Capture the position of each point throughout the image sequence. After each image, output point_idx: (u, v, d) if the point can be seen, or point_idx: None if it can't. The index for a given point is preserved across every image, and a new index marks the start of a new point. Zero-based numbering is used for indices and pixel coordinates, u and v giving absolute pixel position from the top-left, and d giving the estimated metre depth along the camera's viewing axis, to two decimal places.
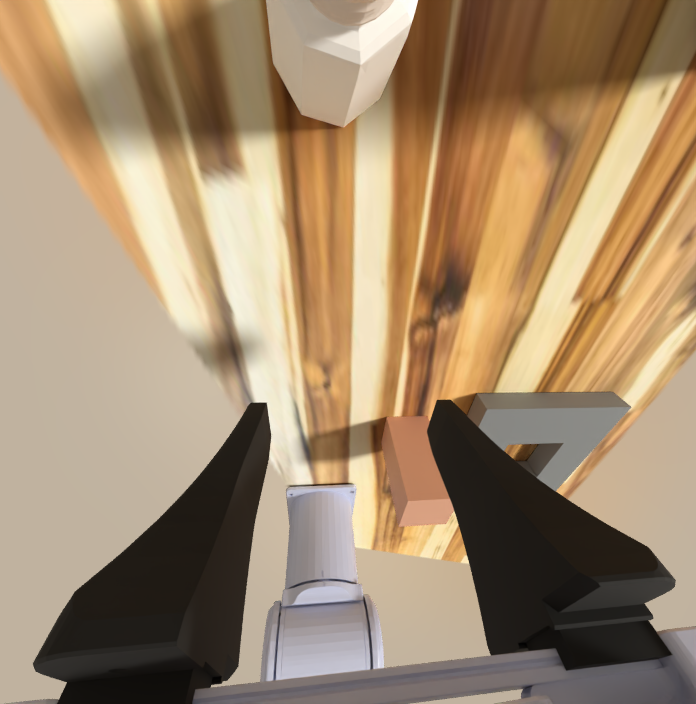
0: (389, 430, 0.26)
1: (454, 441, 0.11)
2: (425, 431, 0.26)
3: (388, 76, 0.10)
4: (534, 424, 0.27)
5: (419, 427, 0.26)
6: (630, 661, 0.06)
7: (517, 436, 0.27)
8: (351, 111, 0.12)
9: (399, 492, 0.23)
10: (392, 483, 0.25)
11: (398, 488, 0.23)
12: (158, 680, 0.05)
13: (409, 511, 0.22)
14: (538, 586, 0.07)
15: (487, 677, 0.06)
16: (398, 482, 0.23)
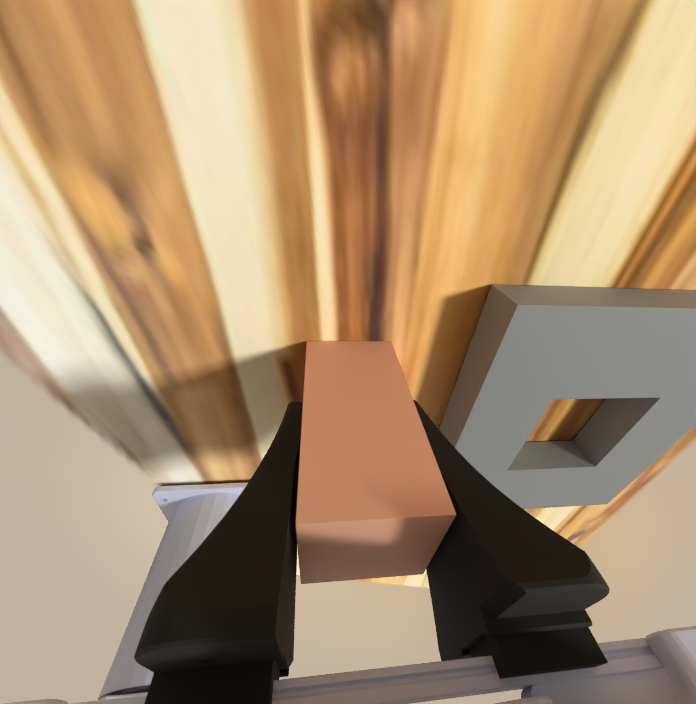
0: None
1: None
2: (382, 364, 0.12)
3: None
4: (614, 351, 0.13)
5: (370, 358, 0.13)
6: (566, 669, 0.06)
7: (574, 380, 0.13)
8: None
9: None
10: None
11: None
12: (241, 671, 0.06)
13: (312, 549, 0.08)
14: (476, 592, 0.07)
15: (487, 677, 0.06)
16: None
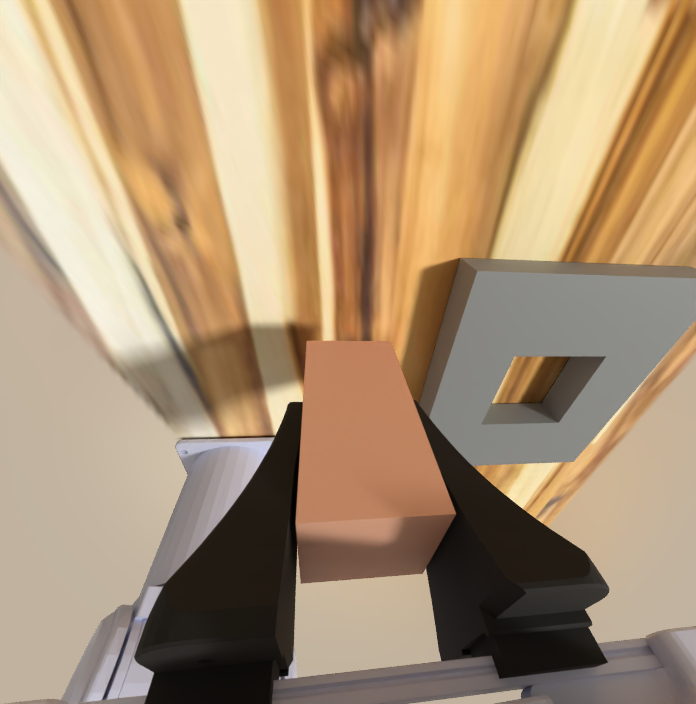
0: None
1: None
2: (382, 364, 0.12)
3: None
4: (560, 313, 0.15)
5: (370, 357, 0.13)
6: (565, 669, 0.06)
7: (530, 339, 0.16)
8: None
9: None
10: None
11: None
12: (241, 671, 0.06)
13: (312, 549, 0.08)
14: (476, 591, 0.07)
15: (487, 677, 0.06)
16: None
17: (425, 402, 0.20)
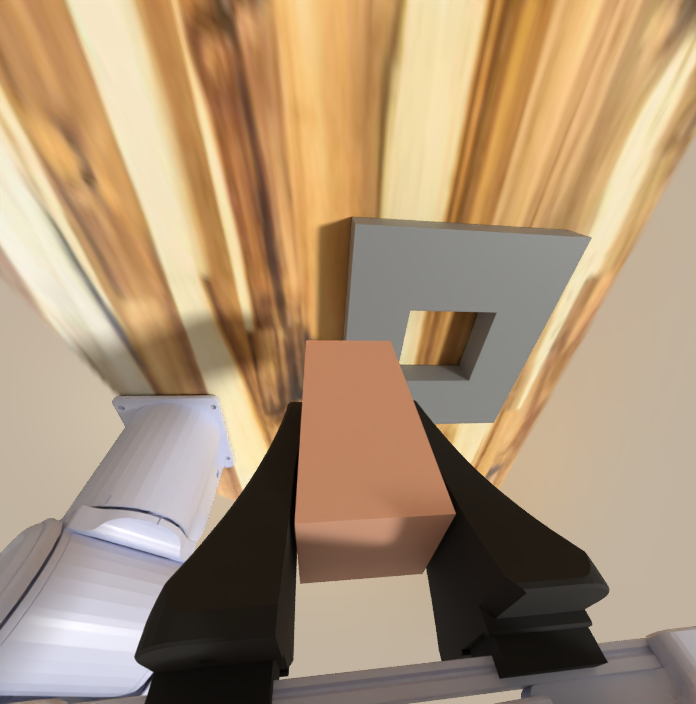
0: (305, 362, 0.12)
1: None
2: (382, 364, 0.12)
3: None
4: (442, 267, 0.17)
5: (369, 357, 0.12)
6: (566, 669, 0.06)
7: (421, 293, 0.18)
8: None
9: None
10: None
11: None
12: (241, 671, 0.06)
13: (311, 549, 0.08)
14: (476, 592, 0.07)
15: (487, 677, 0.06)
16: None
17: None
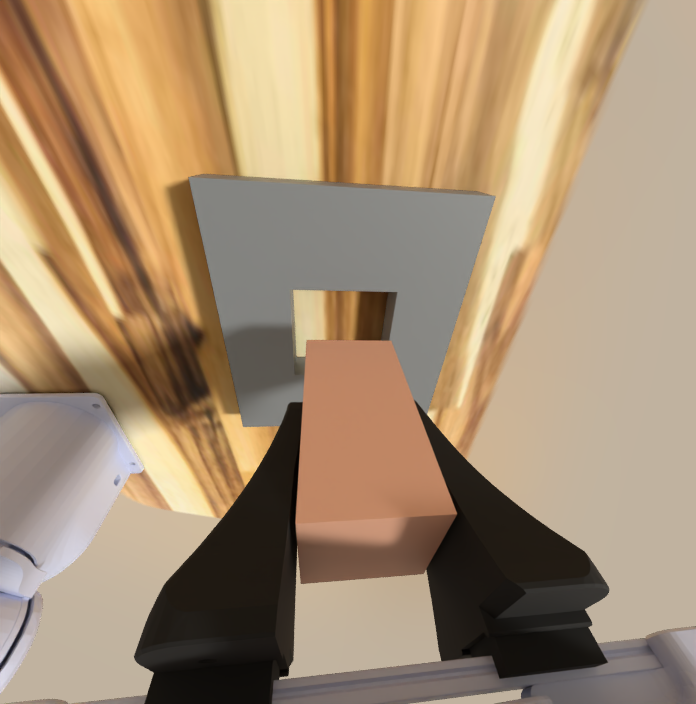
0: None
1: None
2: (382, 364, 0.12)
3: None
4: (316, 235, 0.14)
5: (370, 357, 0.12)
6: (565, 669, 0.06)
7: (297, 267, 0.15)
8: None
9: None
10: None
11: None
12: (241, 671, 0.06)
13: (312, 550, 0.08)
14: (476, 591, 0.07)
15: (487, 677, 0.06)
16: None
17: None
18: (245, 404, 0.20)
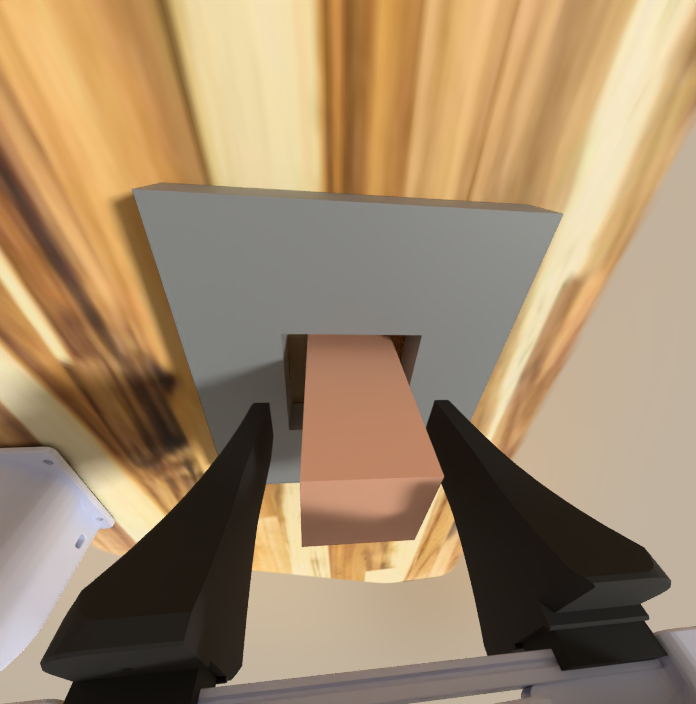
0: None
1: (451, 441, 0.11)
2: (379, 350, 0.13)
3: None
4: (316, 266, 0.10)
5: (367, 344, 0.13)
6: (626, 662, 0.06)
7: (291, 307, 0.11)
8: None
9: None
10: None
11: None
12: (164, 679, 0.05)
13: (313, 510, 0.09)
14: (534, 586, 0.07)
15: (487, 677, 0.06)
16: None
17: None
18: None
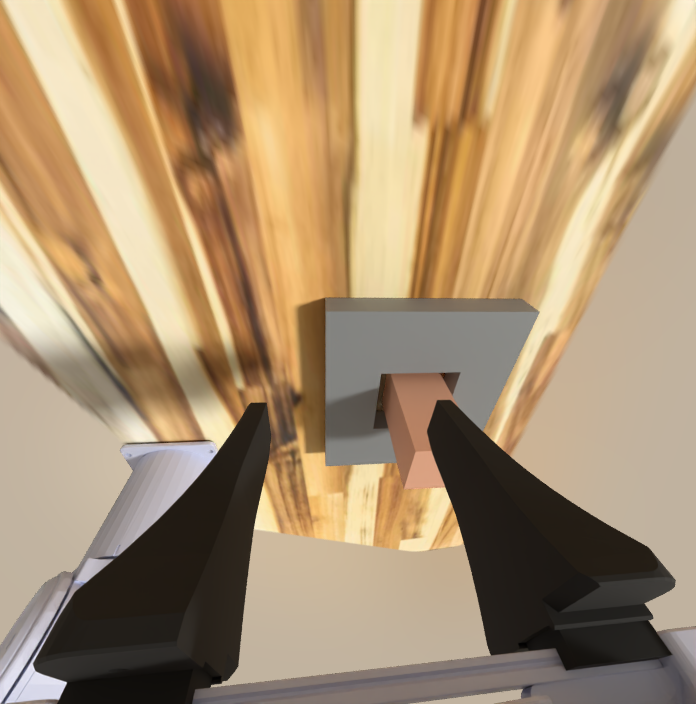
0: (391, 379, 0.22)
1: (454, 441, 0.11)
2: (434, 380, 0.22)
3: None
4: (407, 340, 0.19)
5: (426, 376, 0.22)
6: (630, 661, 0.06)
7: (389, 360, 0.20)
8: None
9: (404, 446, 0.19)
10: (395, 440, 0.21)
11: (403, 442, 0.19)
12: (158, 680, 0.05)
13: (416, 466, 0.17)
14: (538, 586, 0.07)
15: (487, 677, 0.06)
16: (403, 435, 0.19)
17: (325, 410, 0.24)
18: (331, 450, 0.25)
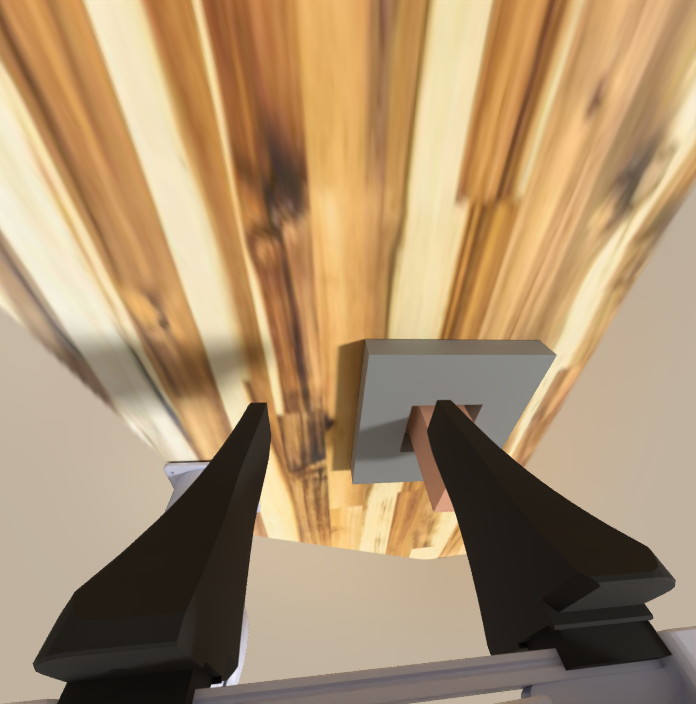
0: (419, 409, 0.24)
1: (454, 441, 0.11)
2: None
3: None
4: (437, 378, 0.21)
5: None
6: (630, 661, 0.06)
7: (420, 394, 0.22)
8: None
9: (435, 474, 0.21)
10: (423, 466, 0.23)
11: (434, 470, 0.21)
12: (158, 680, 0.05)
13: (447, 494, 0.20)
14: (538, 586, 0.07)
15: (487, 677, 0.06)
16: (433, 463, 0.21)
17: (356, 435, 0.26)
18: (359, 470, 0.28)
